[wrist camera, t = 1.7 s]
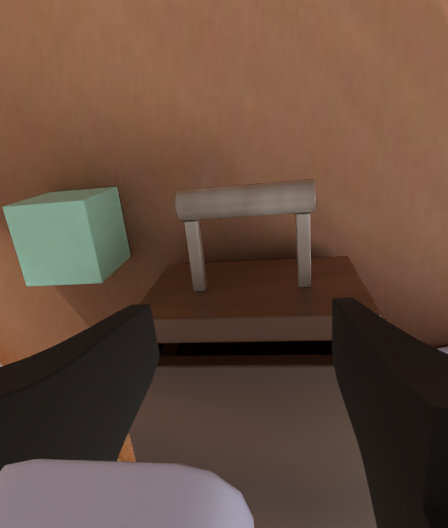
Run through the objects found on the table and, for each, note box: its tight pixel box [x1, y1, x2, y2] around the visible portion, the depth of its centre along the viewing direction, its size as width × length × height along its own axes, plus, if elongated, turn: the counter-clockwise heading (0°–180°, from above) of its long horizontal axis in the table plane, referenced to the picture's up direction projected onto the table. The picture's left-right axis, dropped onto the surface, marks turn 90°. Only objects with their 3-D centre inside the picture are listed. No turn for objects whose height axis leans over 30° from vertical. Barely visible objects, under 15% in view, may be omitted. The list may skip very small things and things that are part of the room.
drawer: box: [140, 179, 381, 356], centre depth 19 cm, size 17×10×7 cm, turn 6°
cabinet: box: [129, 343, 377, 528], centre depth 21 cm, size 14×12×9 cm
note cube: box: [2, 187, 131, 286], centre depth 21 cm, size 4×4×4 cm
